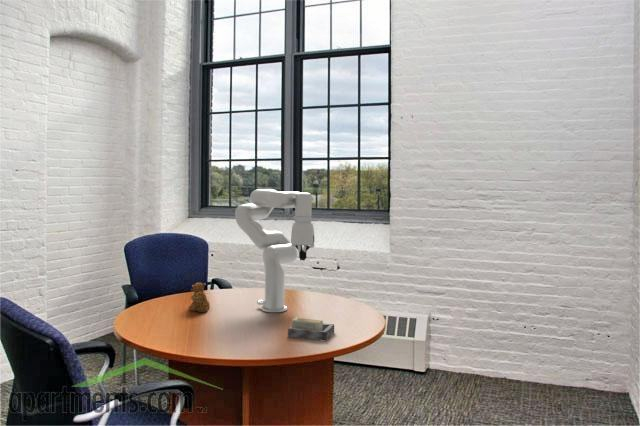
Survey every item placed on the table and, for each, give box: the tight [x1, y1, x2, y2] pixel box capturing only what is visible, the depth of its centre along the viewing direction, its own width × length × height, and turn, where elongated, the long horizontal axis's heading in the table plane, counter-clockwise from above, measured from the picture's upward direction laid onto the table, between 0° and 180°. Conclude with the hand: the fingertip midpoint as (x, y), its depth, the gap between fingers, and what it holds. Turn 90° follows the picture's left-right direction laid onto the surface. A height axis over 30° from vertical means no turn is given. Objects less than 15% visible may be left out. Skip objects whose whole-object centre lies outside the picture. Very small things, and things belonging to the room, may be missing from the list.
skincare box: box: [291, 317, 324, 331], centre depth 213 cm, size 6×4×12 cm
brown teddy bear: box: [188, 282, 211, 313], centre depth 250 cm, size 10×14×13 cm
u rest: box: [287, 322, 335, 342], centre depth 213 cm, size 16×12×4 cm
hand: (302, 259), depth 237 cm, fingers closed
